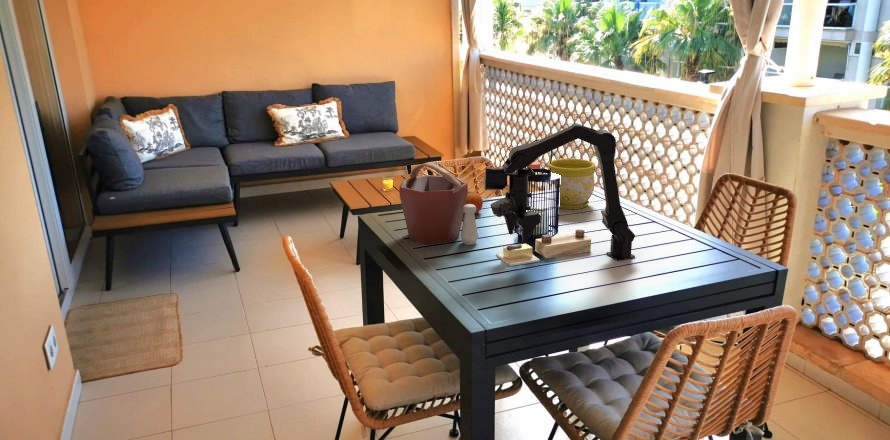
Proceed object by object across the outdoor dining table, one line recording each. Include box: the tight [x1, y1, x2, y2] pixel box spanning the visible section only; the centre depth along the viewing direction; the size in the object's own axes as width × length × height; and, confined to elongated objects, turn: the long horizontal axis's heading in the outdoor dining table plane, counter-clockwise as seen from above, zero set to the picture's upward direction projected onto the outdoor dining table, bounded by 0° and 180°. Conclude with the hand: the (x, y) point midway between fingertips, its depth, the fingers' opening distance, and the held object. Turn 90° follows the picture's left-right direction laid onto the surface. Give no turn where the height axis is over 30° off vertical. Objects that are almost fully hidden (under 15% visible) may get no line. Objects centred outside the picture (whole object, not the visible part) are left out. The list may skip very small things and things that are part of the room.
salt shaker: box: [460, 204, 479, 246], centre depth 227 cm, size 6×6×13 cm
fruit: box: [463, 190, 484, 215], centre depth 260 cm, size 11×10×8 cm
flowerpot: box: [547, 158, 597, 210], centre depth 267 cm, size 18×18×16 cm
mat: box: [495, 252, 541, 267], centre depth 215 cm, size 10×10×1 cm
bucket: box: [398, 162, 469, 246], centre depth 232 cm, size 24×22×25 cm
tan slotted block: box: [502, 243, 533, 260], centre depth 214 cm, size 4×8×4 cm, turn 111°
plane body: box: [534, 228, 592, 259], centre depth 219 cm, size 7×16×6 cm, turn 111°
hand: (517, 238), depth 213 cm, fingers open, 9 cm apart
